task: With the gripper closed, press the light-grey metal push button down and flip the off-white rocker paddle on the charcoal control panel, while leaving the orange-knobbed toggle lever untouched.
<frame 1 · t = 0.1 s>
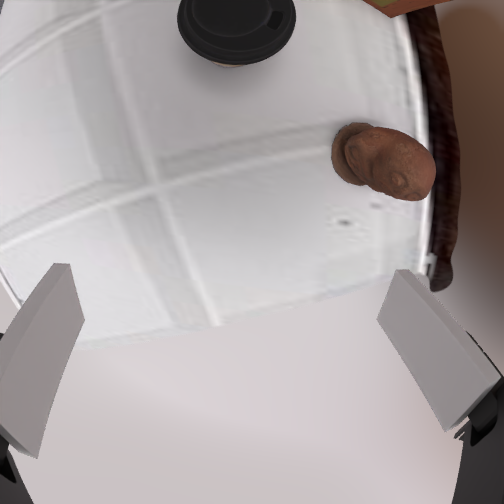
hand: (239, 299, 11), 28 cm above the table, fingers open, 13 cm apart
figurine: (357, 153, 37), on the table
coffee cup: (228, 46, 28), on the table
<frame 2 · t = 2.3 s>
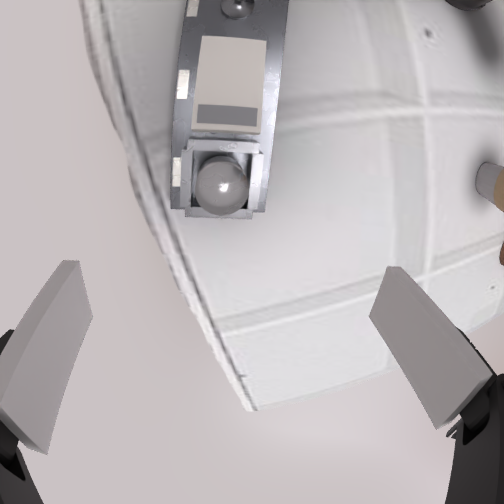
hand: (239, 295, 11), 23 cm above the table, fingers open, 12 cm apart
button: (221, 183, 25), point 7 cm above the table, slide at 0.0 cm
coffee cup: (484, 178, 35), on the table
rocker: (229, 82, 21), point 6 cm above the table, hinge at -15.0°
panel: (226, 87, 26), on the table
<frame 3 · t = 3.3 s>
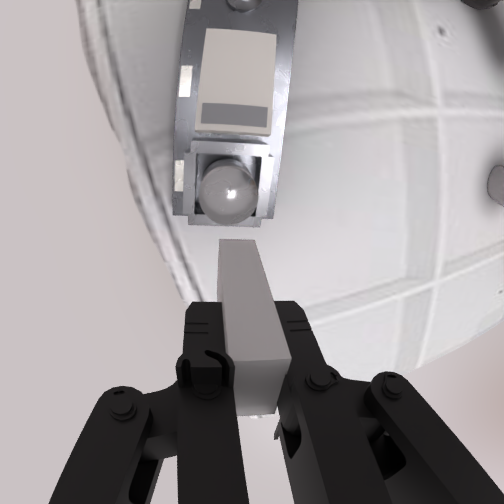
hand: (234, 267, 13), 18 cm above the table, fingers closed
button: (227, 189, 23), point 7 cm above the table, slide at 0.0 cm
coffee cup: (495, 181, 33), on the table
rocker: (236, 78, 19), point 6 cm above the table, hinge at -15.0°
panel: (232, 85, 24), on the table
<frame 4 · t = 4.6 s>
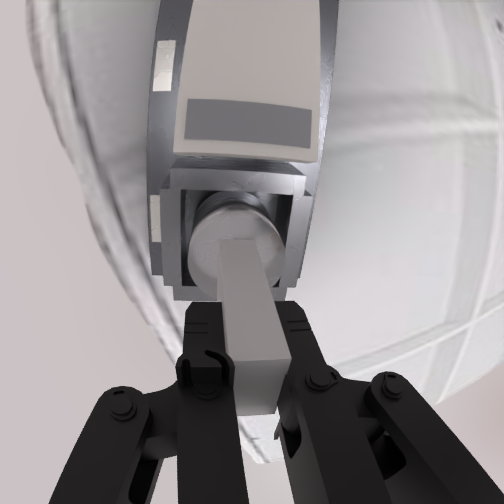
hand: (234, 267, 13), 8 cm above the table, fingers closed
button: (234, 242, 15), point 5 cm above the table, slide at 1.3 cm, touching gripper
rocker: (252, 56, 10), point 6 cm above the table, hinge at -15.0°
panel: (240, 73, 15), on the table
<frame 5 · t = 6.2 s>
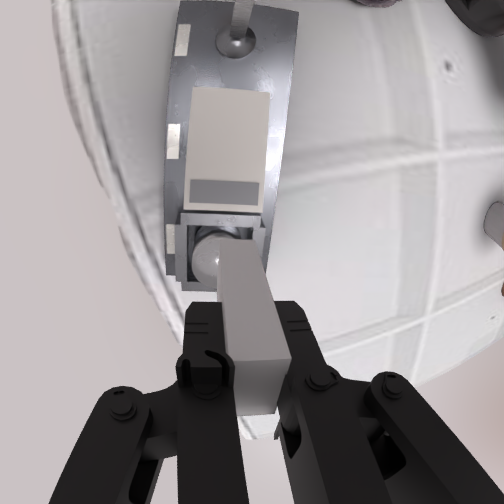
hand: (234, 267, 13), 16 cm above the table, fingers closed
button: (218, 253, 25), point 5 cm above the table, slide at 1.7 cm
coffee cup: (492, 218, 34), on the table
rocker: (226, 148, 20), point 6 cm above the table, hinge at -15.0°
panel: (223, 140, 25), on the table
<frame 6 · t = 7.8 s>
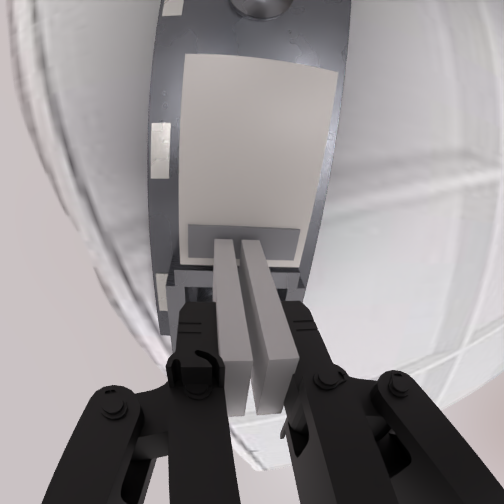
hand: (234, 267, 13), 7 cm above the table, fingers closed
button: (233, 321, 17), point 5 cm above the table, slide at 1.7 cm
rocker: (249, 168, 11), point 6 cm above the table, hinge at 5.2°, touching gripper
panel: (239, 146, 17), on the table
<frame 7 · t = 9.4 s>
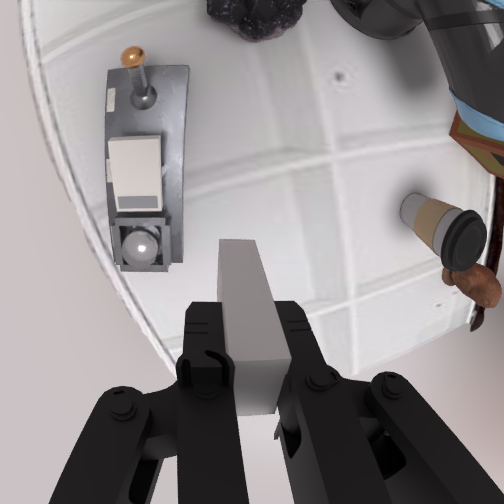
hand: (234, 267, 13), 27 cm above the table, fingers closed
button: (141, 244, 34), point 5 cm above the table, slide at 1.7 cm
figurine: (454, 266, 53), on the table
coffee cup: (411, 208, 44), on the table
rocker: (136, 175, 30), point 6 cm above the table, hinge at 15.4°
toggle: (136, 73, 23), point 7 cm above the table, hinge at -30.0°
panel: (146, 165, 35), on the table
box: (476, 135, 40), on the table
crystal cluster: (253, 3, 27), on the table
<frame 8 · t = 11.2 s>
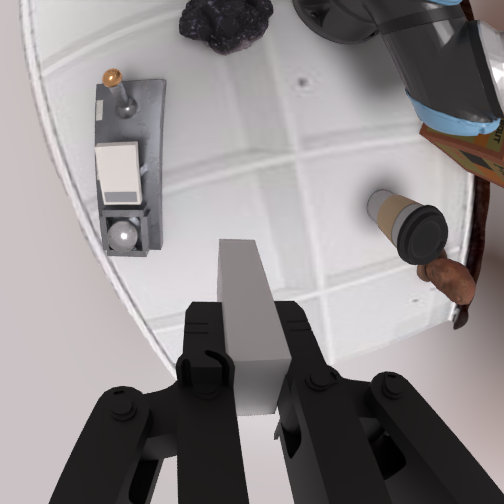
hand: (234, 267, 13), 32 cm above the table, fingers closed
button: (124, 233, 40), point 5 cm above the table, slide at 1.7 cm
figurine: (430, 262, 57), on the table
coffee cup: (379, 204, 49), on the table
rocker: (118, 174, 35), point 6 cm above the table, hinge at 15.9°
toggle: (117, 89, 28), point 7 cm above the table, hinge at -30.0°
panel: (130, 165, 40), on the table
box: (451, 134, 43), on the table
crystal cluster: (225, 17, 31), on the table
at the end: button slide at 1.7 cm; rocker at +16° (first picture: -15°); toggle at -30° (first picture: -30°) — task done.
